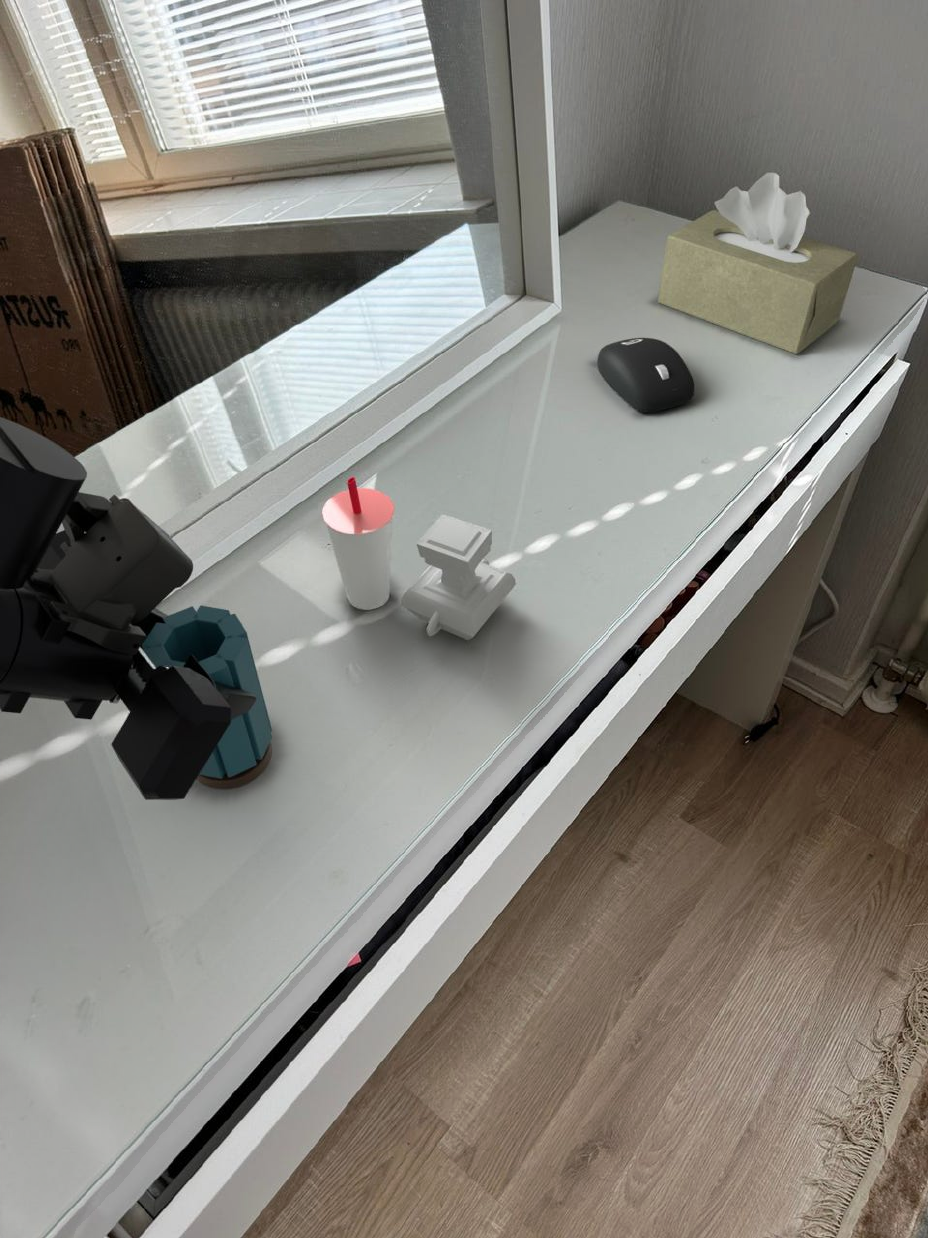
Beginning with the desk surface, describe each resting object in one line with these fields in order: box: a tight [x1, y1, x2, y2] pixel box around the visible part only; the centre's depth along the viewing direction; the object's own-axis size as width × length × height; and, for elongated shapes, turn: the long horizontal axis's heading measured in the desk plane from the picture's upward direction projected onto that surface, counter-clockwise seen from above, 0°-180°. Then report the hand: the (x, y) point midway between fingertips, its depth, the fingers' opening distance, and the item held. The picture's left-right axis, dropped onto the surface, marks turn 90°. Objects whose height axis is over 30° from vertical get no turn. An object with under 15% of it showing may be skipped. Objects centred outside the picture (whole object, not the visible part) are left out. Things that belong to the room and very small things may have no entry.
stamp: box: [399, 513, 517, 641], centre depth 70 cm, size 9×7×8 cm
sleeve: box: [142, 604, 273, 779], centre depth 59 cm, size 6×6×10 cm
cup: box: [321, 476, 395, 611], centre depth 70 cm, size 5×5×12 cm
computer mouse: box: [596, 337, 695, 413], centre depth 95 cm, size 8×12×4 cm, turn 24°
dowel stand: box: [196, 741, 273, 790], centre depth 62 cm, size 6×6×6 cm
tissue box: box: [657, 172, 859, 355], centre depth 101 cm, size 19×10×16 cm, turn 48°
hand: (227, 673), depth 59 cm, fingers closed on sleeve, 6 cm apart
